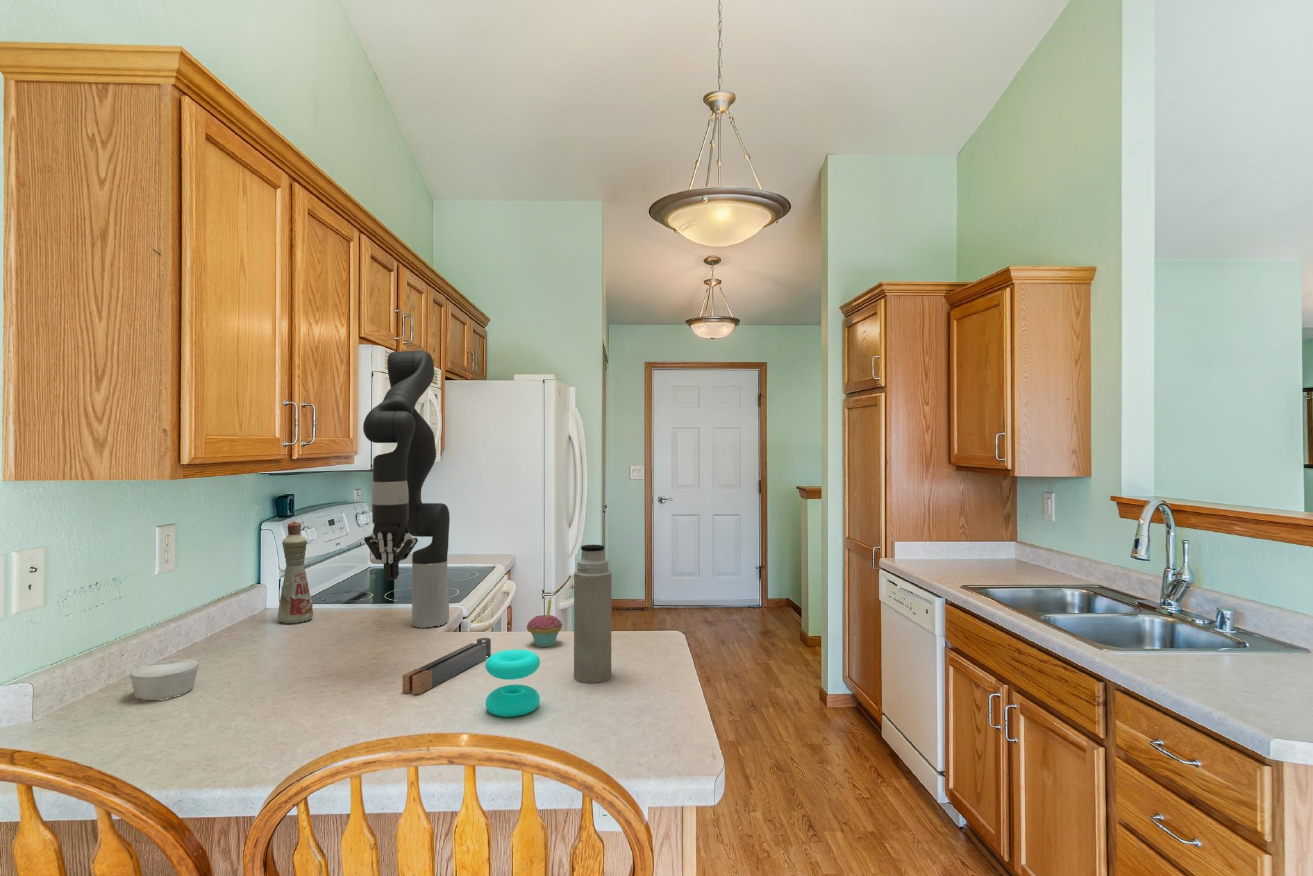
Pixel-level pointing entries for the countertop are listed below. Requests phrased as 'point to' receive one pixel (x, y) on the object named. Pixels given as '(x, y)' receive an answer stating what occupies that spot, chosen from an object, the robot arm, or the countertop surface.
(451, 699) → the countertop surface
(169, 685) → the ramekin
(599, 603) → the thermos bottle
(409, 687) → the tongs arm
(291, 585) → the bottle
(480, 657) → the base
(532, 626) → the cupcake
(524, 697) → the donuts
